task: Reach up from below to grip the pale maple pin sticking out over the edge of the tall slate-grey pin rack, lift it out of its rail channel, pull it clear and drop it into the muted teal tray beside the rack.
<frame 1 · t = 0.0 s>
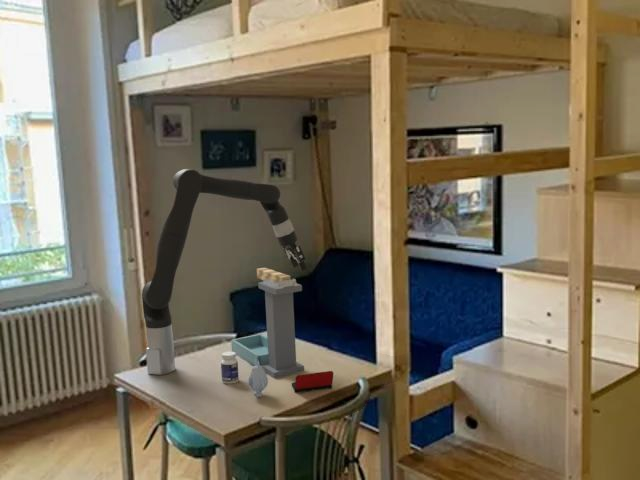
hand: (300, 268, 253), 31 cm above the table, tool tilted 20°, fingers open, 8 cm apart
maple pin: (273, 281, 228), point 32 cm above the table, touching pin rack
pin rack: (280, 369, 230), on the table
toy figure: (259, 395, 207), on the table
pill bottle: (230, 381, 221), on the table
handheld game console: (312, 389, 211), on the table
teal tray: (260, 357, 245), on the table
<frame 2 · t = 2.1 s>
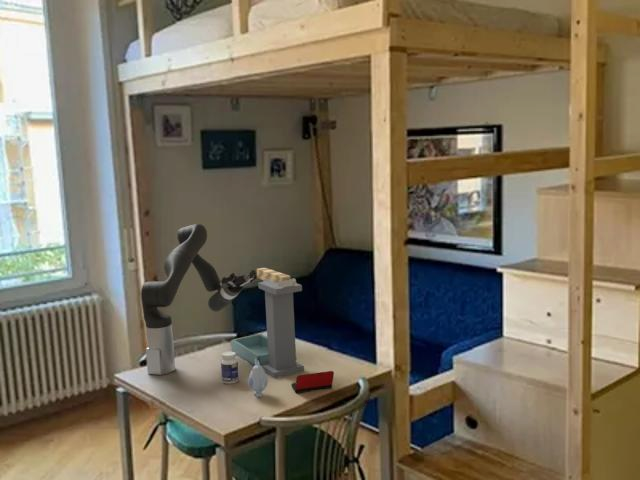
hand: (244, 273, 250), 31 cm above the table, tool pointing upward, fingers open, 8 cm apart
nothing on the table moved.
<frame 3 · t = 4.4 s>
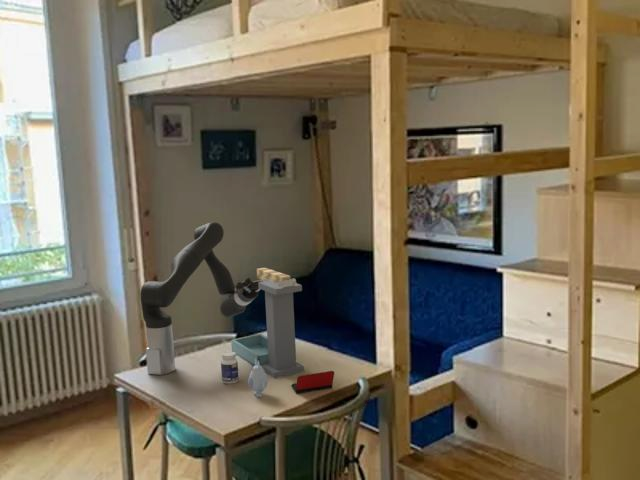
hand: (260, 278, 237), 31 cm above the table, tool pointing upward, fingers open, 8 cm apart
nothing on the table moved.
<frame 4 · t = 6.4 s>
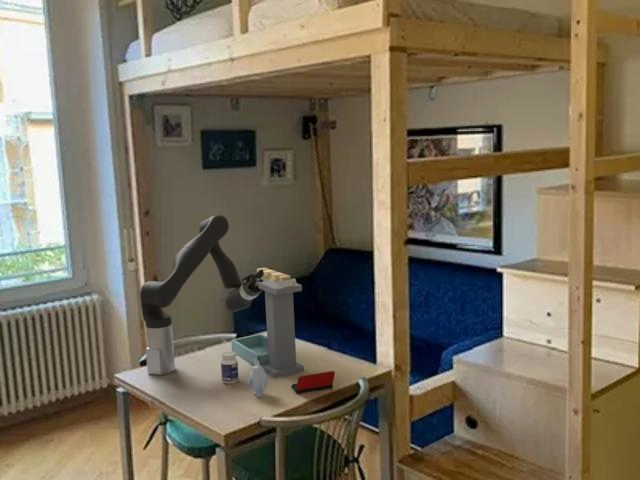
hand: (267, 271, 231), 35 cm above the table, tool pointing upward, fingers closed on maple pin, 3 cm apart
maple pin: (273, 281, 228), point 32 cm above the table, touching gripper, pin rack
everything else where it was.
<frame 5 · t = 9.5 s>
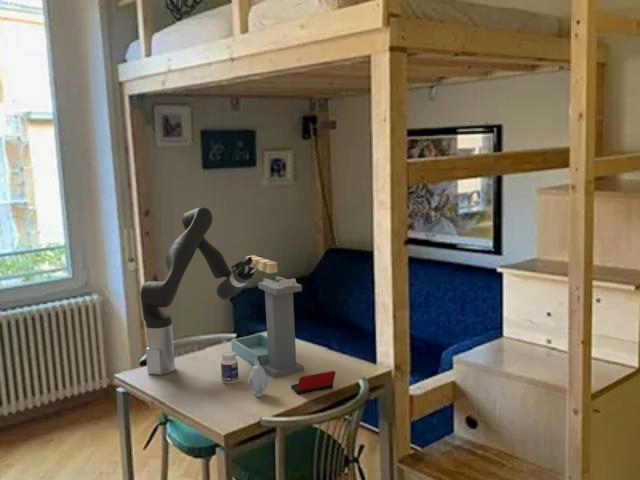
hand: (255, 258, 239), 39 cm above the table, tool pointing upward, fingers closed on maple pin, 3 cm apart
maple pin: (261, 268, 235), point 35 cm above the table, touching gripper
when the fingers open (27 cm above the table, at t = 12.9 s): maple pin drops 22 cm, resting on teal tray.
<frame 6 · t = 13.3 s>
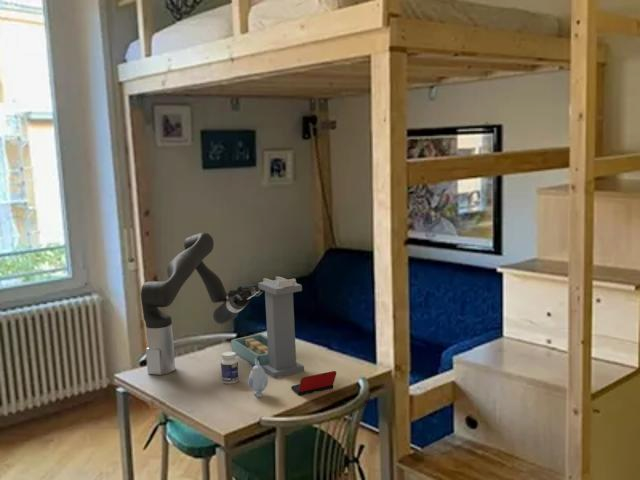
hand: (250, 287, 246), 27 cm above the table, tool pointing upward, fingers open, 7 cm apart
maple pin: (259, 353, 246), point 1 cm above the table, touching teal tray
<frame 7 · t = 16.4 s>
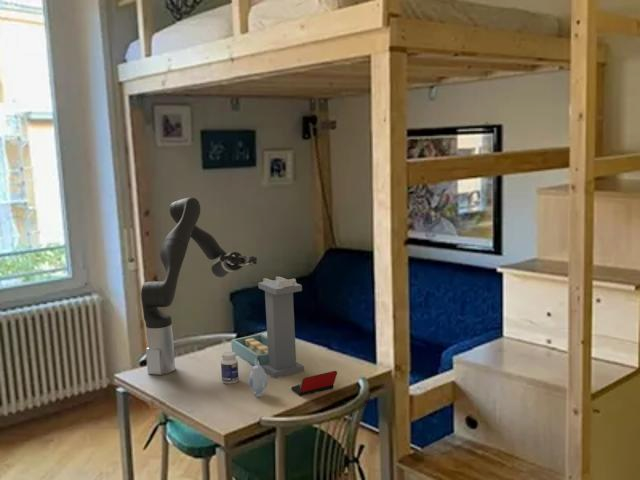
hand: (242, 258, 245), 38 cm above the table, tool horizontal, fingers open, 8 cm apart
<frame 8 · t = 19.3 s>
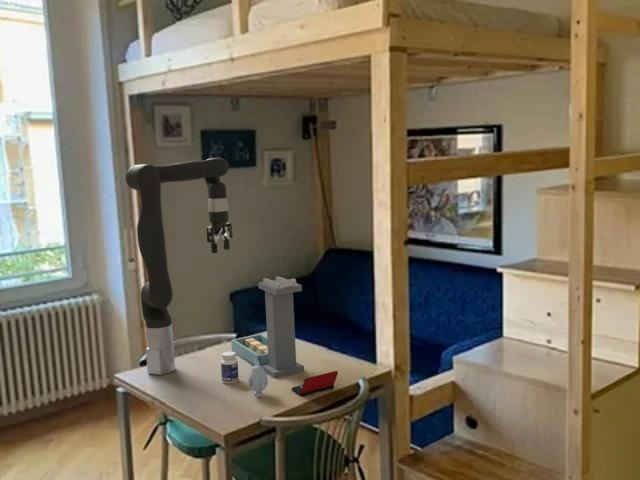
hand: (220, 251, 249), 40 cm above the table, tool pointing down, fingers open, 8 cm apart
at the end: maple pin inside the target area on the teal tray (1.2 cm from its centre), point 1.0 cm above the teal tray's base; the gripper is holding nothing; maple pin moved 35.0 cm from its start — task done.
